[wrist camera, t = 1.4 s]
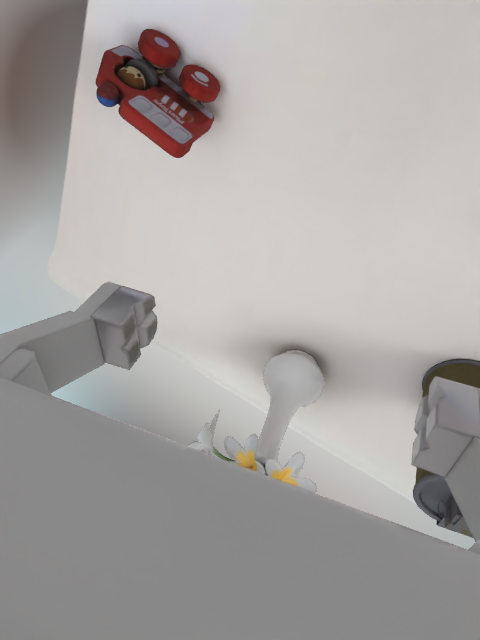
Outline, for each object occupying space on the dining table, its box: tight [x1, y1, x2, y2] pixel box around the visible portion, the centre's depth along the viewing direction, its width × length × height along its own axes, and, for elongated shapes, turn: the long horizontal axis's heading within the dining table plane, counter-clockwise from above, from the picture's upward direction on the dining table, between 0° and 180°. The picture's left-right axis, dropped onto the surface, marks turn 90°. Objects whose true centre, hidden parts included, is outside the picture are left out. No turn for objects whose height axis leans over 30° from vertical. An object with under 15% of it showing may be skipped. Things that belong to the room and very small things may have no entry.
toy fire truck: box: [96, 29, 220, 158], centre depth 44 cm, size 7×12×10 cm, turn 58°
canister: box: [413, 359, 480, 538], centre depth 52 cm, size 11×10×20 cm
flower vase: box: [187, 350, 325, 493], centre depth 59 cm, size 13×18×25 cm
